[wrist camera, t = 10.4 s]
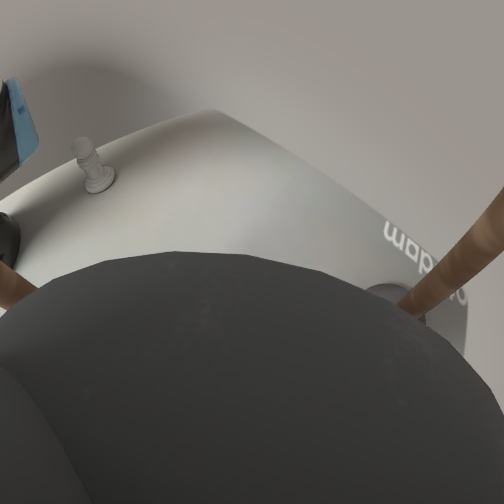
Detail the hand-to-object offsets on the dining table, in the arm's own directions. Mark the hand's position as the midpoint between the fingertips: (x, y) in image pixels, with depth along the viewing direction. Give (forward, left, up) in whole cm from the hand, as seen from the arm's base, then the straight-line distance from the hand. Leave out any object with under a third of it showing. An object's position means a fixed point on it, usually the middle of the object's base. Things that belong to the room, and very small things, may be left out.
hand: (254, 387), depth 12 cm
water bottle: (+3, -1, -14) cm, 14 cm away
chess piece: (-36, -13, -17) cm, 42 cm away
